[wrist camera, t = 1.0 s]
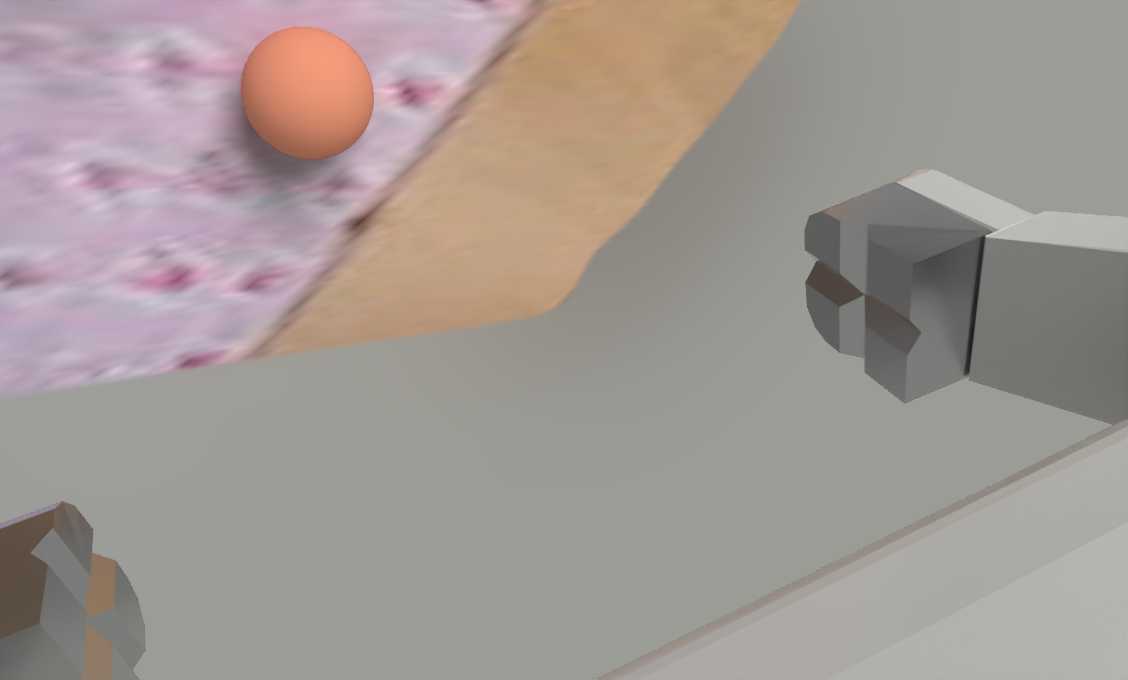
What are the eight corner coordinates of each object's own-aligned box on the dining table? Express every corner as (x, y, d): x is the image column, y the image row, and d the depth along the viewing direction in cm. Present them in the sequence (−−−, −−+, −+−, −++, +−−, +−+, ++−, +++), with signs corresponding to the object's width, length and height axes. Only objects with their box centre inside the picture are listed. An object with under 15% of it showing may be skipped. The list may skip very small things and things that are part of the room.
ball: (206, 72, 38) (217, 110, 34) (298, -14, 38) (322, 14, 34) (297, 158, 42) (318, 203, 37) (383, 81, 41) (413, 117, 37)
